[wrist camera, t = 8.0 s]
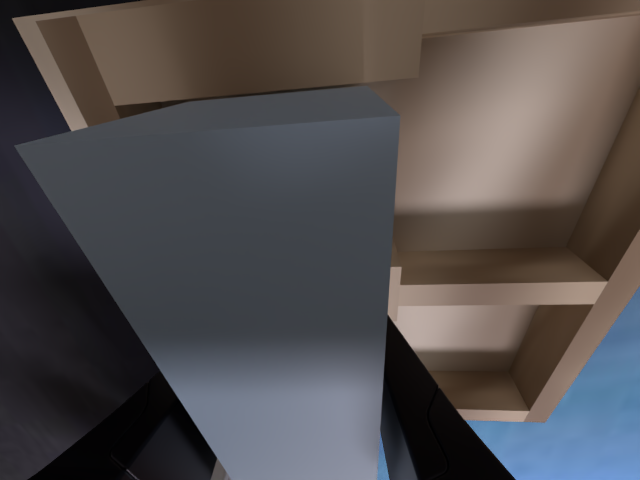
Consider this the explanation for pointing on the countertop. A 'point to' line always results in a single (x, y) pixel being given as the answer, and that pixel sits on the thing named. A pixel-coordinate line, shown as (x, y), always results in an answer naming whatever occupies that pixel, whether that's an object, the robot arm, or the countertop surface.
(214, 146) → the grey rectangular block
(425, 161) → the divided wooden tray
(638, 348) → the countertop surface
